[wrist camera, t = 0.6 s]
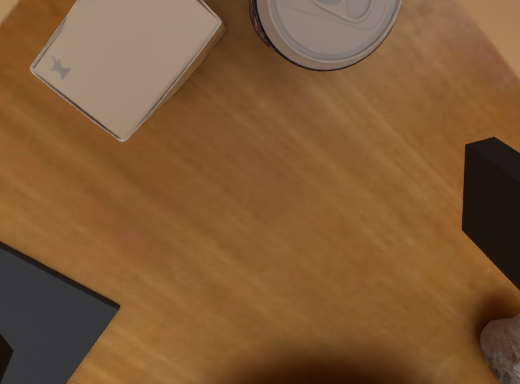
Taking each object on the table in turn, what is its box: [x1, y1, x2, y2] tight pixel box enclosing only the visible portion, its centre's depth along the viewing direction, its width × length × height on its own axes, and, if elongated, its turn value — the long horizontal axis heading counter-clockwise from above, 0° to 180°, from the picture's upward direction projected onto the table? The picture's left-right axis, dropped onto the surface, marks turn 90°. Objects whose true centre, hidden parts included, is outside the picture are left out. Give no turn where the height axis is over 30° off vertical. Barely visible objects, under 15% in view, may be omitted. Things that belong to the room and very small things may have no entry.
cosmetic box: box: [30, 0, 228, 142], centre depth 21 cm, size 6×4×12 cm
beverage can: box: [249, 0, 402, 71], centre depth 21 cm, size 6×6×12 cm
